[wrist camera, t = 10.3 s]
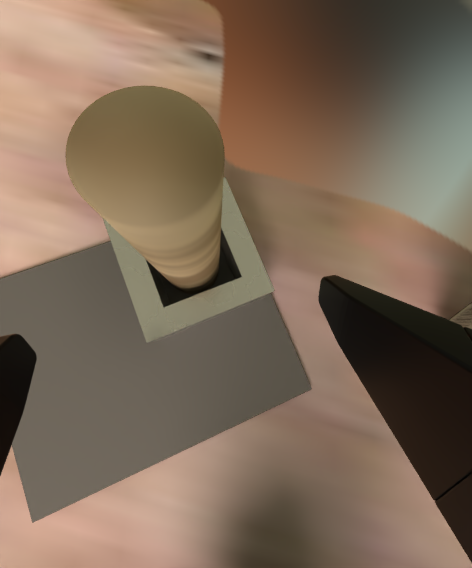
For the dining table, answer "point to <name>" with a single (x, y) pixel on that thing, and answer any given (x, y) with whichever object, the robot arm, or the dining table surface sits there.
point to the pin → (154, 178)
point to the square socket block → (199, 308)
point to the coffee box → (464, 317)
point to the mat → (130, 376)
